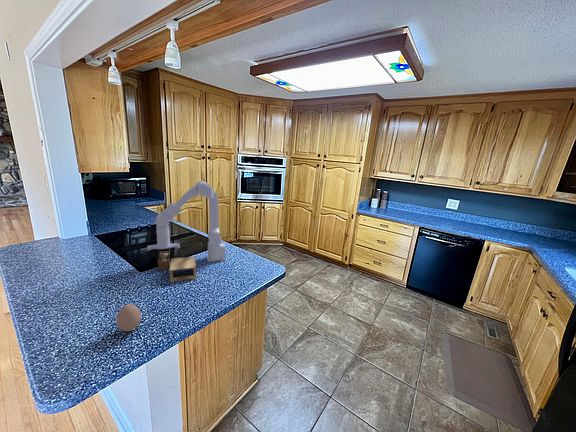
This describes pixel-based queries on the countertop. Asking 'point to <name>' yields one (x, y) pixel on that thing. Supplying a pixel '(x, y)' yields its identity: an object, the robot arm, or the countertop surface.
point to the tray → (162, 264)
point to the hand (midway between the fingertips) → (164, 261)
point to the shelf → (182, 267)
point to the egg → (128, 317)
